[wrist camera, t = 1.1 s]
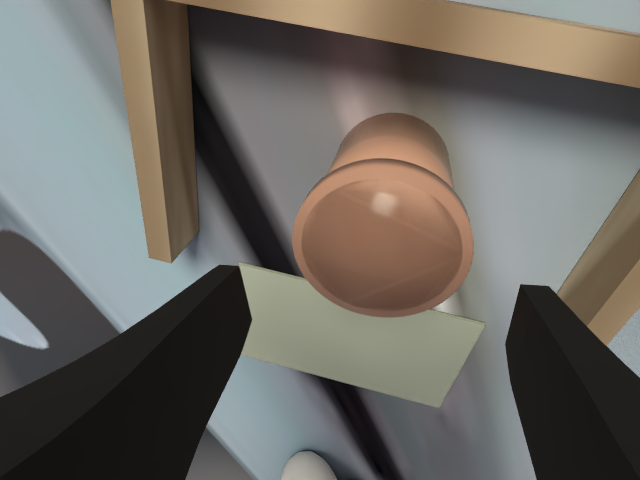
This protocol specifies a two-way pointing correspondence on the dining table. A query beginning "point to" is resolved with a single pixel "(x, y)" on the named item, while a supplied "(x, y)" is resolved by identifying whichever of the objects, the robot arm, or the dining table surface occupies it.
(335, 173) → the terracotta pot
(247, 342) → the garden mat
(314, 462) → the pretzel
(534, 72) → the dining table surface
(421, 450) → the dining table surface
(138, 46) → the tan wooden bent bar
